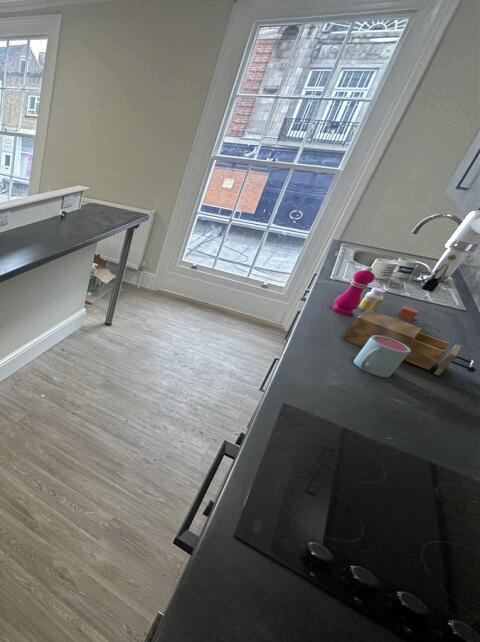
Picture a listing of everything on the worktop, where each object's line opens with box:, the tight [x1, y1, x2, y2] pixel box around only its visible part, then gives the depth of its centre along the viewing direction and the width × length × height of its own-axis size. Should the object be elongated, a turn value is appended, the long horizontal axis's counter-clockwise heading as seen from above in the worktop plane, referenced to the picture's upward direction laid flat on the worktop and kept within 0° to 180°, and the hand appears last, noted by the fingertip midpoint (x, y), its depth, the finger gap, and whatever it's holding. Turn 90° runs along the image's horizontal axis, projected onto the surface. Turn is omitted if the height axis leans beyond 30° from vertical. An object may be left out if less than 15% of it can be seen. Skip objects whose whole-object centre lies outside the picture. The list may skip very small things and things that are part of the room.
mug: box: [353, 335, 411, 378], centre depth 124 cm, size 14×9×10 cm
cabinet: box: [343, 309, 422, 348], centre depth 139 cm, size 15×13×10 cm
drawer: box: [403, 331, 479, 377], centre depth 130 cm, size 19×11×8 cm, turn 36°
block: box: [396, 305, 420, 322], centre depth 162 cm, size 4×4×4 cm
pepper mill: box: [331, 266, 376, 316], centre depth 158 cm, size 7×7×20 cm
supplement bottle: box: [358, 287, 387, 312], centre depth 164 cm, size 5×5×10 cm
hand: (427, 290), depth 156 cm, fingers closed
